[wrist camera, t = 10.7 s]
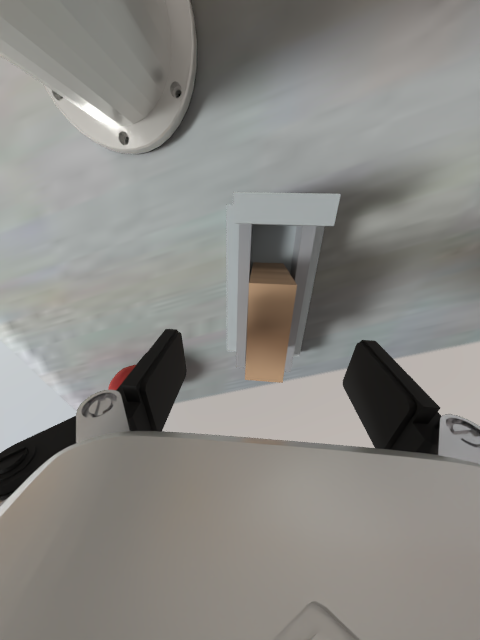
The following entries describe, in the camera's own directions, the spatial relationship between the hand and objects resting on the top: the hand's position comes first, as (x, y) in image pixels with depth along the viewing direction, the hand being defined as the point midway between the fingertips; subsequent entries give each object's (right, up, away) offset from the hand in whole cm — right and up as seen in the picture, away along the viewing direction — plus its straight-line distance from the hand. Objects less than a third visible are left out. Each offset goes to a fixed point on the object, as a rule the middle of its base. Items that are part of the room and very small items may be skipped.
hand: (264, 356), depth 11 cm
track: (+2, +5, +11) cm, 12 cm away
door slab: (+1, +4, +11) cm, 11 cm away
